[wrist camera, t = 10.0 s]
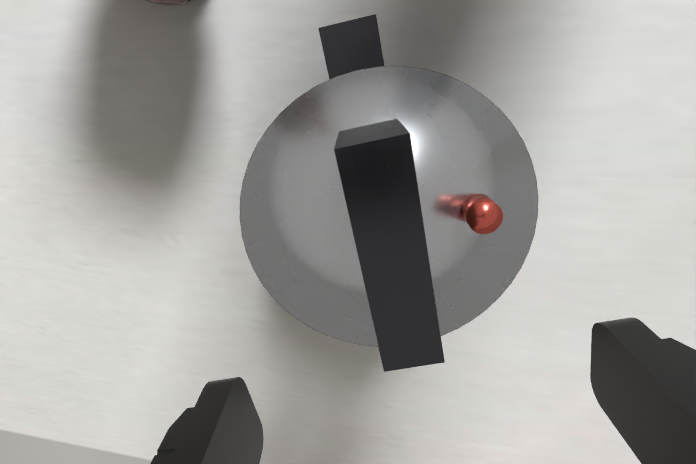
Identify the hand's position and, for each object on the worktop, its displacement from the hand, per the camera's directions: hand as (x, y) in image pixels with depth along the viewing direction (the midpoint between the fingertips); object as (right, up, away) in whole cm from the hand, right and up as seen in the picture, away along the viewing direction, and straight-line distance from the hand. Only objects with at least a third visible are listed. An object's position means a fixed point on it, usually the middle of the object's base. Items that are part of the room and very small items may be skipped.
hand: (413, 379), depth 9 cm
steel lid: (0, +5, +11) cm, 12 cm away
